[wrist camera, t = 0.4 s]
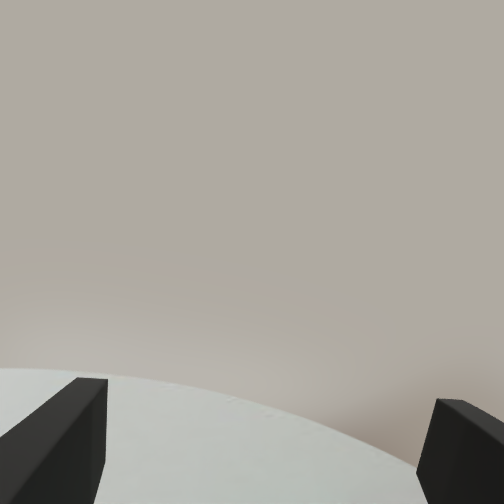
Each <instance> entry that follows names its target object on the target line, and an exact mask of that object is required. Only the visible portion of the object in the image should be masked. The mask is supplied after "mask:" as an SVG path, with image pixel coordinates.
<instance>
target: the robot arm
mask: <svg viewBox="0 0 504 504" xmlns="http://www.w3.org/2000/svg"><path fill="white" fill-rule="evenodd" d="M107 392H108V379H95V378H78V377H77V378H76V379H75V380H73V381H72V382H71V383H69V384H68V385H67V386H65V387H64V388H63V389H62V390H60V391H59V392H58V393H57V394H55V395H54V396H53V397H51V398H50V399H49V400H48V401H46V402H45V403H44V404H43V405H41V406H40V407H39V408H38V409H36V410H35V411H34V412H33V413H31V414H30V415H29V416H27V417H26V418H25V419H24V420H22V421H21V422H20V423H18V424H17V425H16V426H15V427H13V428H12V429H11V430H9V431H8V432H7V433H5V434H4V435H3V436H1V437H0V504H94V500H95V497H96V494H97V490H98V487H99V483H100V479H101V476H102V472H103V468H104V465H105V457H106V425H107ZM416 474H417V477H418V479H419V482H420V484H421V487H422V489H423V492H424V495H425V497H426V500H427V502H428V504H504V423H503V422H501V421H500V420H498V419H496V418H495V417H493V416H491V415H490V414H488V413H486V412H484V411H483V410H481V409H479V408H477V407H475V406H473V405H471V404H469V403H467V402H465V401H463V400H454V399H437V400H436V403H435V407H434V410H433V414H432V418H431V421H430V425H429V428H428V432H427V436H426V439H425V443H424V446H423V450H422V453H421V457H420V461H419V464H418V468H417V471H416Z"/></svg>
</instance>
